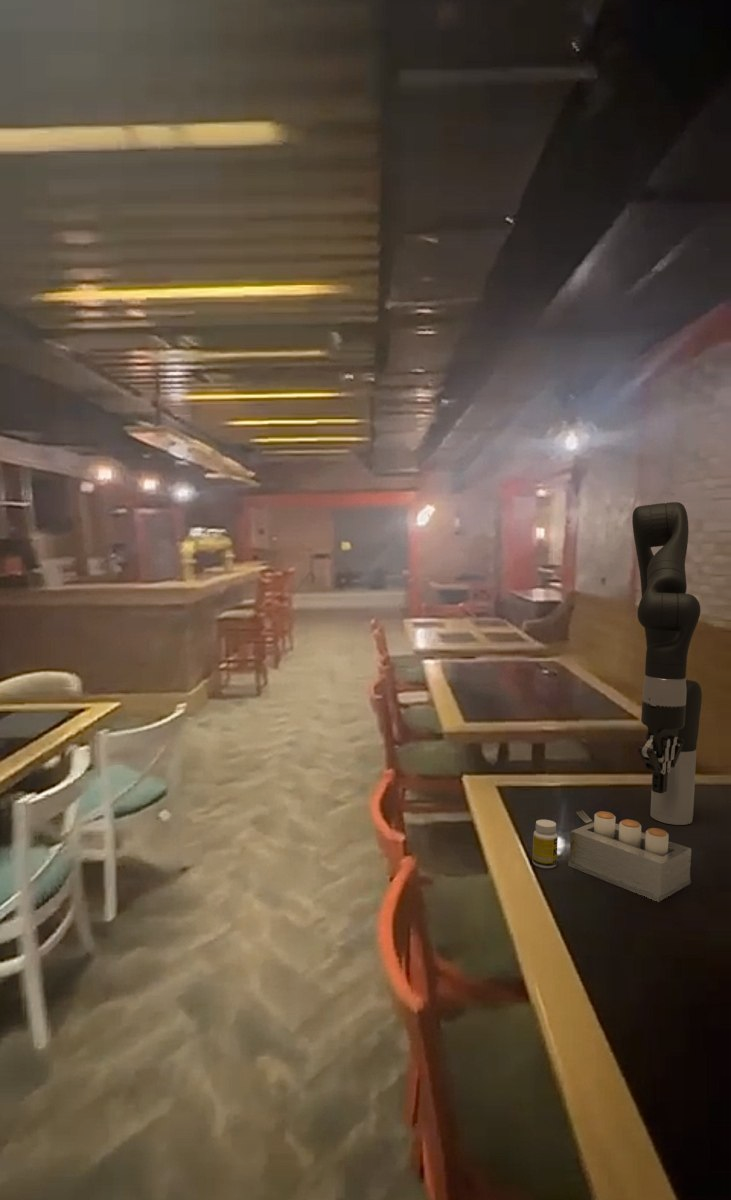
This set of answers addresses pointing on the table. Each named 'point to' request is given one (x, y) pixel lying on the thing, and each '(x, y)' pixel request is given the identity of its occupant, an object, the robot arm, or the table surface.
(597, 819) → the knob
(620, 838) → the knob
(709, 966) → the table surface
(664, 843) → the knob
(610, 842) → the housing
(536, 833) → the supplement bottle
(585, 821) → the fork
